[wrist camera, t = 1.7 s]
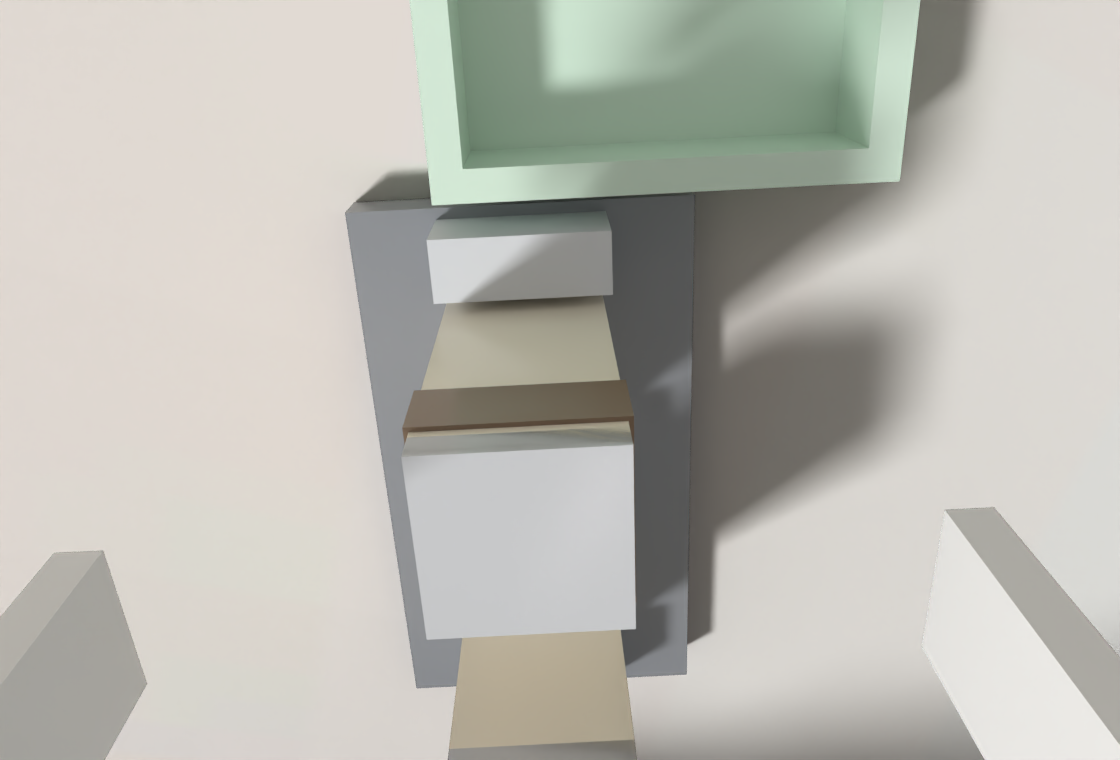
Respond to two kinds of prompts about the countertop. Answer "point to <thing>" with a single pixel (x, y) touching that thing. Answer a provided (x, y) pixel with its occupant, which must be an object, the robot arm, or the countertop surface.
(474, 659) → the block
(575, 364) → the block
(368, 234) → the block
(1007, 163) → the countertop surface
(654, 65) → the tray
